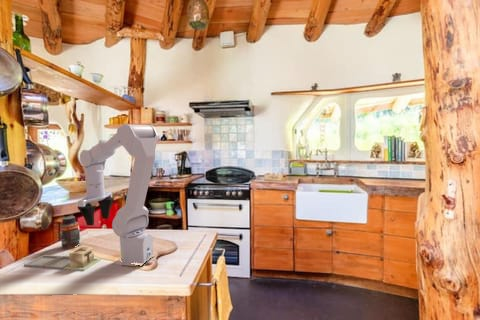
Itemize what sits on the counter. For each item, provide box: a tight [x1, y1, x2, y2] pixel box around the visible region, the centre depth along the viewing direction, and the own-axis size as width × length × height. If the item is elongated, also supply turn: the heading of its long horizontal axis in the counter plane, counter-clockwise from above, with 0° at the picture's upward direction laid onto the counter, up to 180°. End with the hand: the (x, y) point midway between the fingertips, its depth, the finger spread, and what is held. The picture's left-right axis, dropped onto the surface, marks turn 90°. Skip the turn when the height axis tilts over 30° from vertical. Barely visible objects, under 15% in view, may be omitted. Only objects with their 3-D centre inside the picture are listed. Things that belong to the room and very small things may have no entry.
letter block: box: [68, 246, 95, 268], centre depth 85 cm, size 5×5×5 cm
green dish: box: [64, 257, 102, 272], centre depth 85 cm, size 7×7×1 cm
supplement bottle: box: [59, 215, 82, 250], centre depth 100 cm, size 6×6×11 cm
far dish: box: [23, 254, 62, 269], centre depth 88 cm, size 7×7×1 cm
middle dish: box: [43, 255, 70, 270], centre depth 87 cm, size 7×7×1 cm
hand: (98, 221), depth 96 cm, fingers open, 7 cm apart
